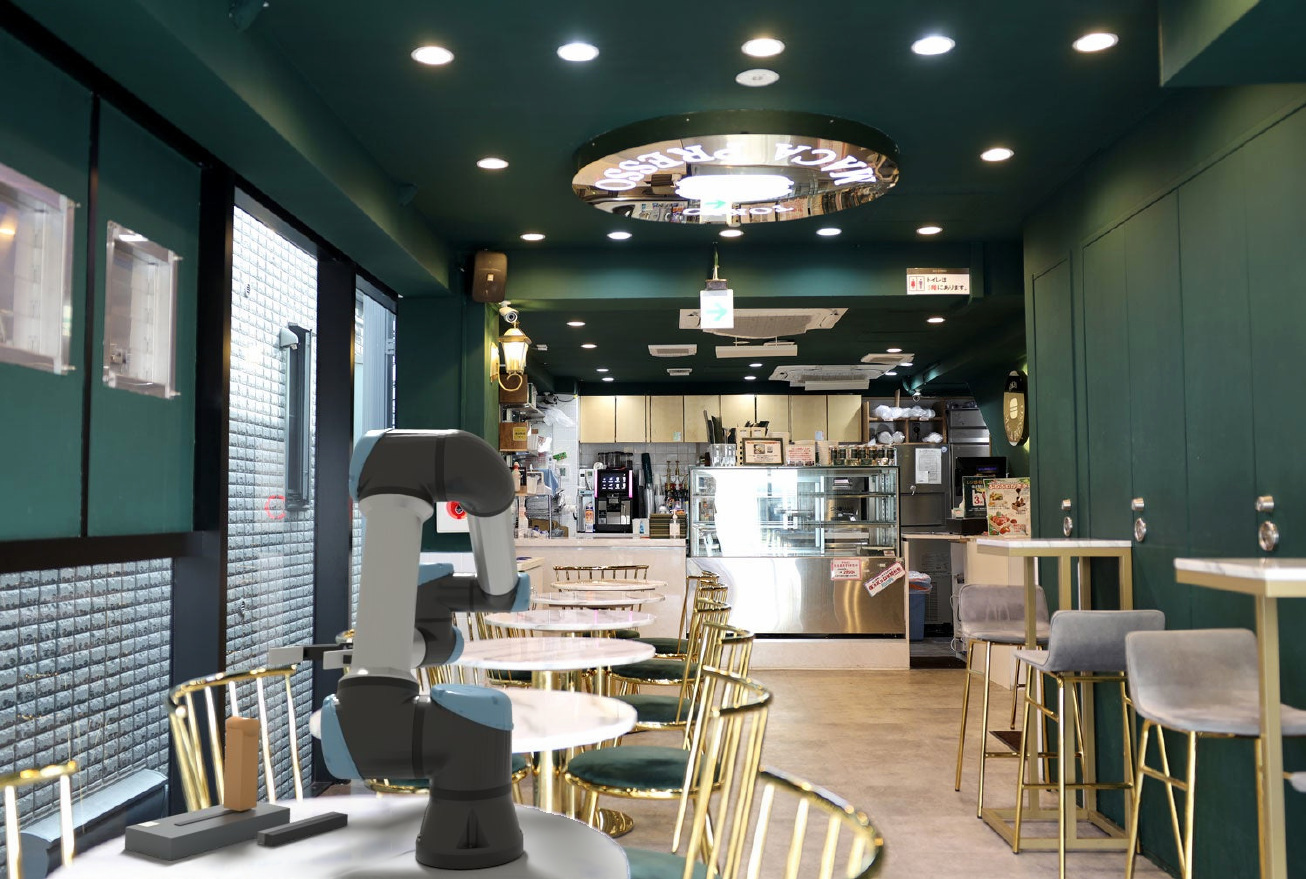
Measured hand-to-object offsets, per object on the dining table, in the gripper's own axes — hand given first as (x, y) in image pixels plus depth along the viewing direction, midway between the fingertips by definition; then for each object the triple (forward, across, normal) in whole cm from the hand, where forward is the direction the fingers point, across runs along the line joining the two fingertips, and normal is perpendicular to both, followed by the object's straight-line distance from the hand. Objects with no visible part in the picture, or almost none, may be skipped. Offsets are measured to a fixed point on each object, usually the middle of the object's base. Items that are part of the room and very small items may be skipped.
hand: (296, 658), depth 173 cm
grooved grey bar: (+6, -10, -25) cm, 28 cm away
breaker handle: (+9, 0, -22) cm, 24 cm away
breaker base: (+14, 0, -25) cm, 29 cm away
